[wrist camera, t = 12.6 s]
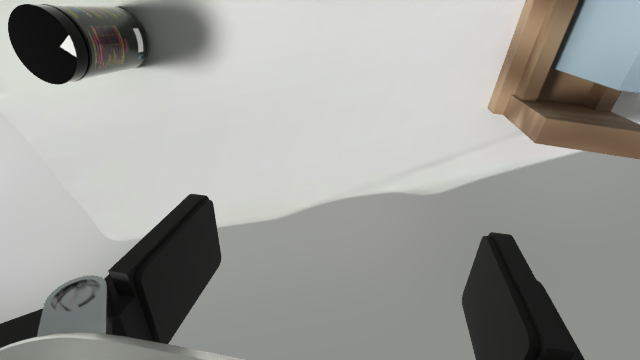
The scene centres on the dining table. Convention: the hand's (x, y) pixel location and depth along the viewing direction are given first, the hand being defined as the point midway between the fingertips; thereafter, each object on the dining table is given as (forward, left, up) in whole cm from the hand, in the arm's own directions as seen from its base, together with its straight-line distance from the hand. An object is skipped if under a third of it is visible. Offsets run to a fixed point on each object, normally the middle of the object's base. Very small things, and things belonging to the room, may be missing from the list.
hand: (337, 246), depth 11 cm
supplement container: (-2, -30, -28) cm, 41 cm away
